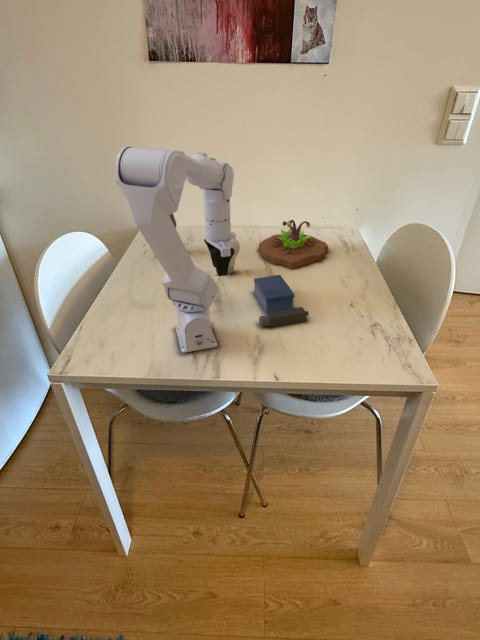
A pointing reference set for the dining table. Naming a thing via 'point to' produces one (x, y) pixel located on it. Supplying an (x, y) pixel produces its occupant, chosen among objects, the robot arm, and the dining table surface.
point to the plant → (293, 247)
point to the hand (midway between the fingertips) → (220, 270)
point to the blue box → (273, 293)
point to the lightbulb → (236, 248)
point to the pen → (284, 317)
